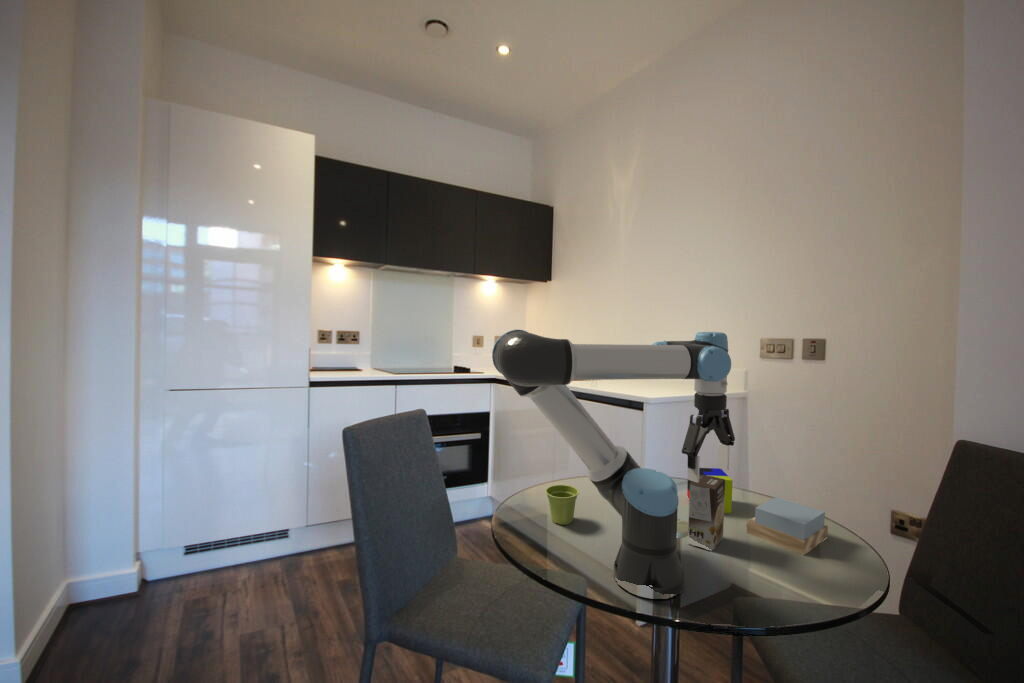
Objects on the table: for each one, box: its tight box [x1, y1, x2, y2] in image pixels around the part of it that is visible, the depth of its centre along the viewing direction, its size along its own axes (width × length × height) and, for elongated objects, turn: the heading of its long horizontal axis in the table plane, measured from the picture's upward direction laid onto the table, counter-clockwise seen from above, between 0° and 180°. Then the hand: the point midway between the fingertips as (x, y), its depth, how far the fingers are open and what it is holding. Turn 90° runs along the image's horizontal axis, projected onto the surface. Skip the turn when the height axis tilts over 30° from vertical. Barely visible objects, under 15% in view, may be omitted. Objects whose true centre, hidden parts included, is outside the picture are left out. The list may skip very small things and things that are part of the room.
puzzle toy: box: [686, 467, 734, 514], centre depth 143 cm, size 10×10×10 cm
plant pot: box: [544, 484, 580, 526], centre depth 133 cm, size 9×9×9 cm
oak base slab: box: [746, 516, 829, 556], centre depth 124 cm, size 14×14×4 cm
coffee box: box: [687, 475, 725, 551], centre depth 120 cm, size 9×6×16 cm
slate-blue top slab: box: [754, 496, 826, 540], centre depth 123 cm, size 12×12×4 cm
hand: (708, 474), depth 120 cm, fingers open, 13 cm apart
